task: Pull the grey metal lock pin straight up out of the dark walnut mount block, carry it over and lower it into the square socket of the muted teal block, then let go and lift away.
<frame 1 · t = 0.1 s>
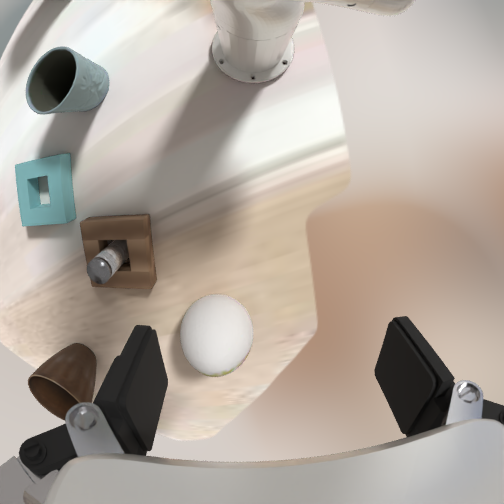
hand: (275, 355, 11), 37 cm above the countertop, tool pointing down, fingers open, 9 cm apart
mount block: (121, 248, 47), on the countertop
socket block: (48, 189, 43), on the countertop
decorative egg: (219, 313, 53), on the countertop
lock pin: (110, 259, 43), in the mount block
grey-blue cup: (89, 89, 37), on the countertop
plant pot: (83, 355, 57), on the countertop
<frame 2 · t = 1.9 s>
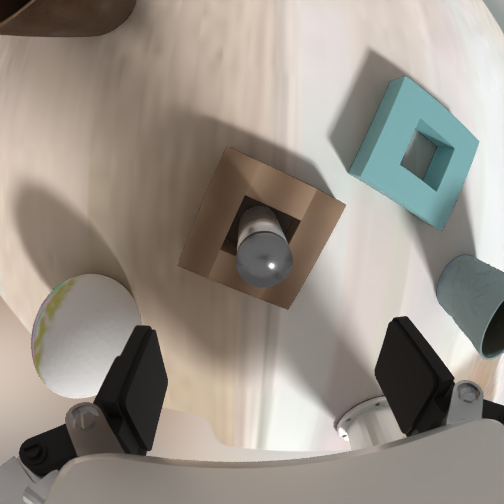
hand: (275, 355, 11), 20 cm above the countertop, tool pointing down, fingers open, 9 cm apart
mount block: (258, 225, 30), on the countertop
socket block: (412, 153, 27), on the countertop
decorative egg: (108, 304, 33), on the countertop
lock pin: (261, 240, 25), in the mount block
grey-blue cup: (456, 280, 33), on the countertop
plant pot: (106, 11, 20), on the countertop
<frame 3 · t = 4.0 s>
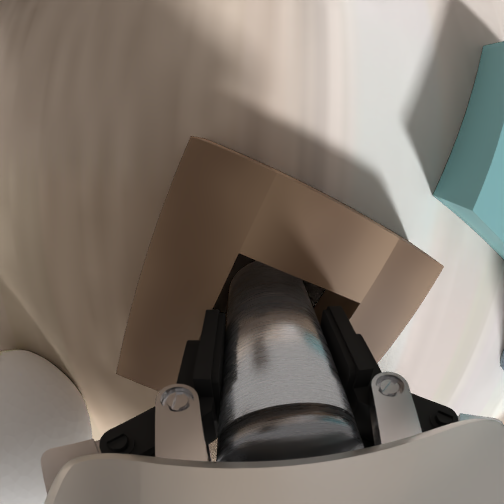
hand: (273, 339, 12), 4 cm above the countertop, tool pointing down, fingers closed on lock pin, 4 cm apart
mount block: (267, 294, 15), on the countertop
decorative egg: (48, 383, 19), on the countertop
lock pin: (276, 356, 11), in the mount block, touching gripper
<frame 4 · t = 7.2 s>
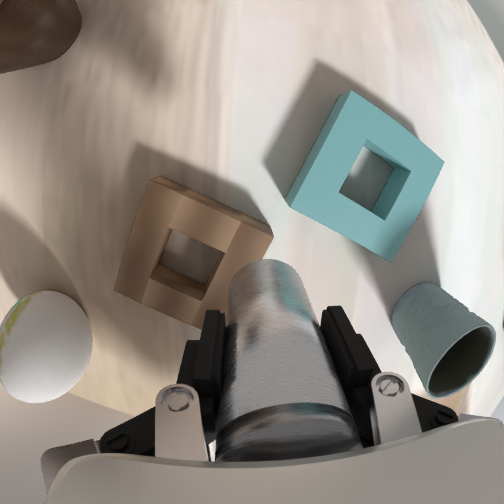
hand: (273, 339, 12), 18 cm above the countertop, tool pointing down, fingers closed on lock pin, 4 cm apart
mount block: (191, 252, 30), on the countertop
socket block: (362, 176, 27), on the countertop
decorative egg: (66, 317, 33), on the countertop
lock pin: (275, 356, 11), point 19 cm above the countertop, touching gripper
grey-blue cup: (416, 308, 33), on the countertop
plant pot: (56, 35, 20), on the countertop
when the fingers open (5 cm above the countertop, at t = 10.3 s): lock pin stays where it is, resting in socket block.
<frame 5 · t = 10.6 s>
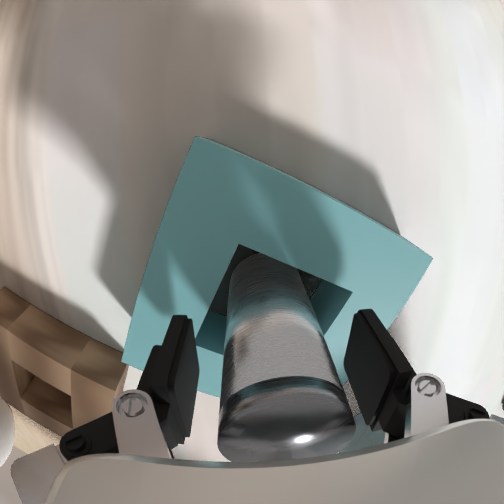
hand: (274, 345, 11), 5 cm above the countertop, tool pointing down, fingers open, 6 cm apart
mount block: (59, 370, 19), on the countertop
socket block: (265, 285, 16), on the countertop
lock pin: (273, 341, 11), in the socket block
grey-blue cup: (375, 424, 22), on the countertop
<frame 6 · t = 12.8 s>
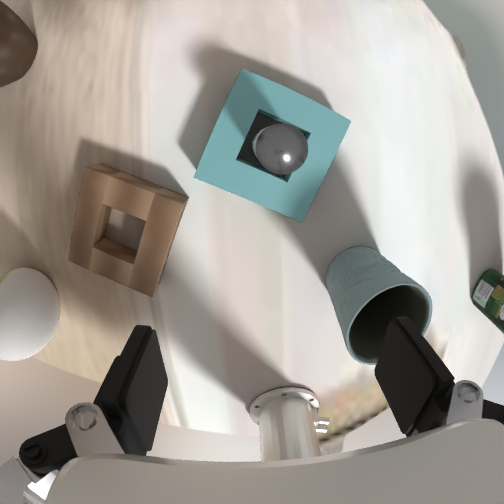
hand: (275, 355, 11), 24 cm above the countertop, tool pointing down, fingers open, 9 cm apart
coffee jar: (486, 287, 39), on the countertop
mount block: (128, 225, 33), on the countertop
socket block: (270, 144, 30), on the countertop
decorative egg: (41, 291, 37), on the countertop
lock pin: (275, 146, 25), in the socket block
grey-blue cup: (353, 273, 37), on the countertop
plant pot: (20, 58, 22), on the countertop
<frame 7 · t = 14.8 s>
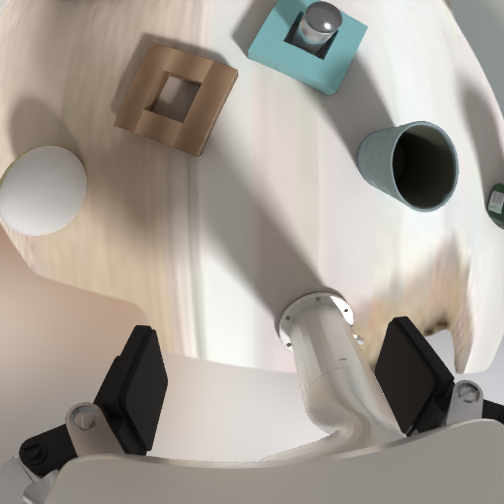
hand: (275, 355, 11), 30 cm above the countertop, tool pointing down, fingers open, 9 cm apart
coffee jar: (498, 204, 40), on the countertop
mount block: (178, 99, 34), on the countertop
socket block: (306, 42, 31), on the countertop
decorative egg: (66, 182, 37), on the countertop
lock pin: (314, 30, 26), in the socket block
grey-blue cup: (381, 158, 37), on the countertop
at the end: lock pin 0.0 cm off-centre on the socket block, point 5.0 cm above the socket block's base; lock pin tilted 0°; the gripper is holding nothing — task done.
